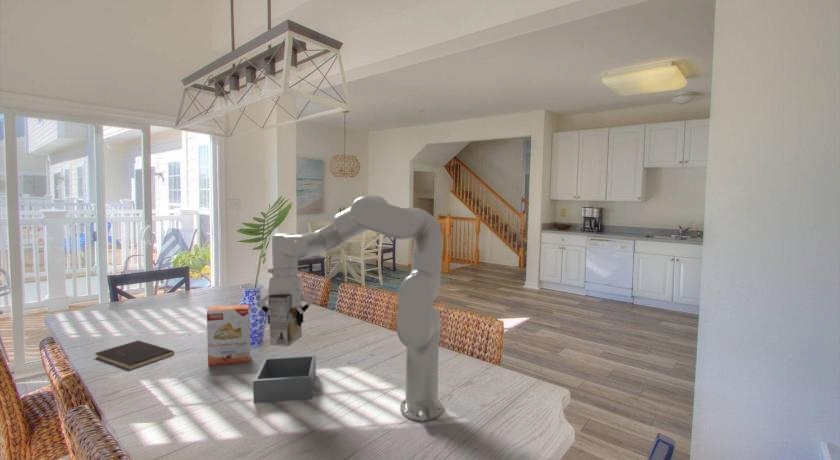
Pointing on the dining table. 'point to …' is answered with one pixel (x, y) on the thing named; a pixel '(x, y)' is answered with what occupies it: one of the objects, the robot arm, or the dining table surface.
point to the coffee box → (283, 321)
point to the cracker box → (228, 334)
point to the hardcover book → (134, 354)
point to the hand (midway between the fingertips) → (285, 325)
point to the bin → (285, 379)
